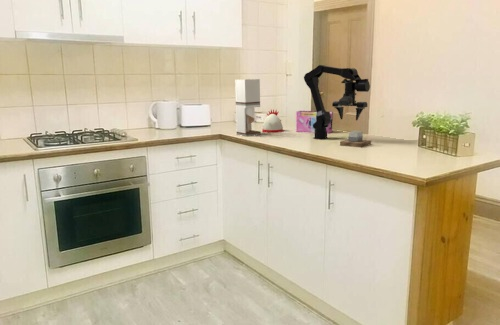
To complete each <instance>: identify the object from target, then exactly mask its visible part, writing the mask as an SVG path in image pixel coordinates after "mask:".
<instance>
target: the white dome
mask: <svg viewBox="0 0 500 325" xmlns="http://www.w3.org/2000/svg"><path fill="white" fill-rule="evenodd" d="M278 114H279V111H277V109H270V111H268V113H266V115H267V116H266V118H265V119H264V121H263V125H262V132H263V133H267V134H268V133H270V134H271V133H273V134H274V133H276V134H277V133H282V132H284V127H283V124H282V120H281V119H280V117H279V116H278Z"/></svg>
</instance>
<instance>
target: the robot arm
mask: <svg viewBox="0 0 500 325" xmlns="http://www.w3.org/2000/svg"><path fill="white" fill-rule="evenodd" d="M324 73H325V74H328V75H329V74H330V75H336V76H338V77H339V76H340V77H342V78H343V80H342V81H341V84H344V93H343V95H342V97H341V98H340V99H338V100H335V101H333V102H331V103H332V106H331V107H334V109H336V111H337V112H338V115H339V118H340V120H343V119H344V118H343V117H344V109H345V108H344V107H356V108H355V111H356V112H355V121H358V120H359V118H360V116H361V114H362V112H363V111H364V110H365V109H366V108H368V102H367V101H357V100H356V96H357V92H359V93H362V92H363V93H368V92H369V91H370V88H371V84H370V81H369V78H361V76H360V75H359V73H358V70H357V69H356V68H354V67H349V68H348V67H346V68H344V67H343V68H341V67H334V66H330V65H329V66H328V65H325V64H318V65H317V66H316V67H315V68H313V69H312V70H310V71H309V72H306V73H305V74H304V76H303V80H304V82H305V84H306V86H307V87H308V88H309V90H310V94H311V97H312V100H313V104H314V107H315V108H314V109H315V111H317V114H316V122H315V123H314V124H313V128H314V129H315V133H314V137H313V139H317V140H325V139H328V133H327V127H328V125H329V124H330V122H331V119H330V118H331V117H330V113H329V112H326V111H327V110H326V109H325V106H324V103H323V99H322V95H321V92H320V89H319V81H320V80H319V78H320V77H321V76H322V75H323V74H324Z"/></svg>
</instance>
